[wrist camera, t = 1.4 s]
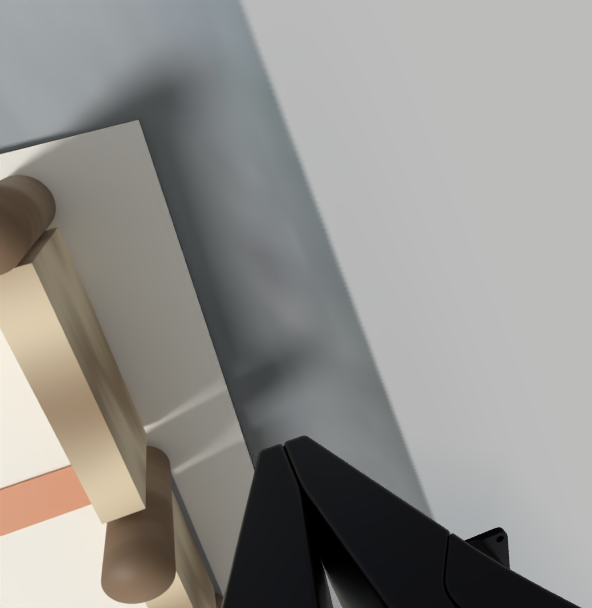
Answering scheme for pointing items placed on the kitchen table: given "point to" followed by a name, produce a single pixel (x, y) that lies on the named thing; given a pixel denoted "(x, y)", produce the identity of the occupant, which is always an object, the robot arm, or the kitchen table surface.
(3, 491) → the card
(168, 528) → the fence gate
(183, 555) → the beige flat block
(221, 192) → the kitchen table surface
